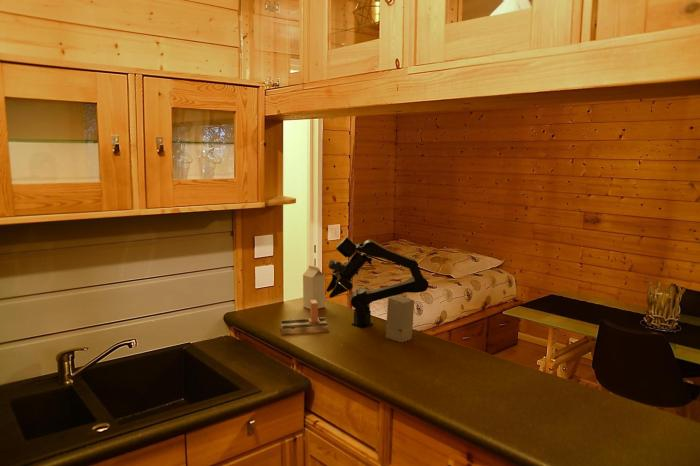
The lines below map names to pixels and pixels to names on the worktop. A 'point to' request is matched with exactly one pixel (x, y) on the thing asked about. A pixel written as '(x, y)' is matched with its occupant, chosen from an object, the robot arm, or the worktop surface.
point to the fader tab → (313, 312)
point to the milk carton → (313, 287)
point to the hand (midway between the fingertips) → (328, 294)
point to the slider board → (303, 326)
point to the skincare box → (399, 318)
